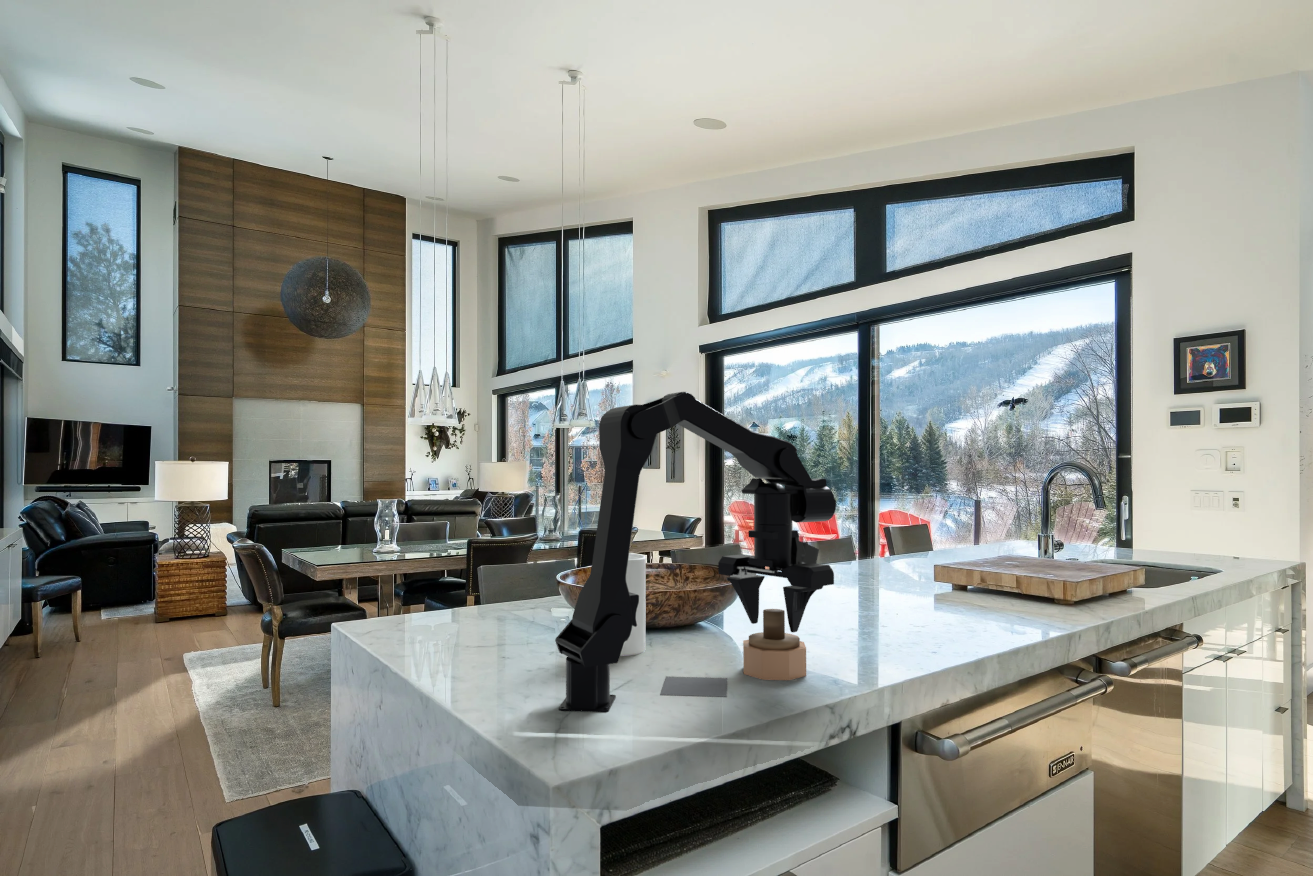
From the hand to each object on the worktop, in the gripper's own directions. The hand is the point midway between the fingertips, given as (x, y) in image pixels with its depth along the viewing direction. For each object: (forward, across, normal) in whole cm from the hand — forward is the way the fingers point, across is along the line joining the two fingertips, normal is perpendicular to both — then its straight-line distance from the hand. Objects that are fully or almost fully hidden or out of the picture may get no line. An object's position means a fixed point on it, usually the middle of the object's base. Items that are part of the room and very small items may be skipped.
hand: (773, 627), depth 114 cm
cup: (+7, +26, +10) cm, 28 cm away
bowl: (+7, 0, 0) cm, 7 cm away
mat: (+7, +2, +14) cm, 16 cm away
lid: (+2, 0, 0) cm, 2 cm away
